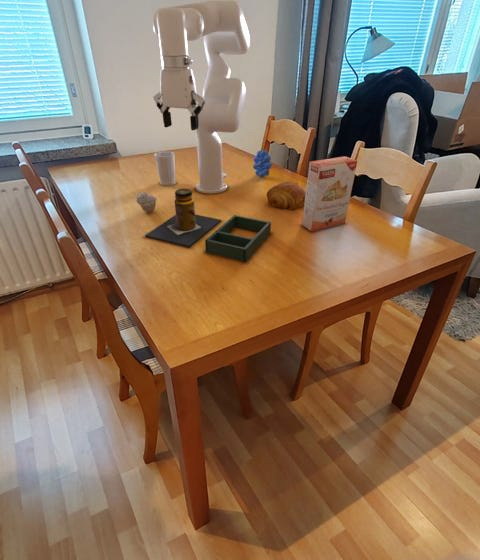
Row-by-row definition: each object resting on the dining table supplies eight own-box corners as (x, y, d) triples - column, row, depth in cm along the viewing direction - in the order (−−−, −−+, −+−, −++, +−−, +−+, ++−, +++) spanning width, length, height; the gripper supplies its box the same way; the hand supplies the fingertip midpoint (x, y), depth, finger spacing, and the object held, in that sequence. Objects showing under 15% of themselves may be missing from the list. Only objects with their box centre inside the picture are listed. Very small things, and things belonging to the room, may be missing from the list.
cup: (154, 184, 148) (150, 155, 141) (164, 178, 154) (161, 150, 148) (171, 187, 146) (167, 157, 139) (180, 181, 152) (178, 152, 145)
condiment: (201, 228, 113) (198, 191, 107) (178, 235, 109) (173, 198, 102) (189, 220, 118) (186, 185, 111) (166, 227, 114) (162, 191, 107)
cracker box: (312, 233, 112) (320, 166, 100) (301, 225, 116) (308, 161, 104) (346, 224, 117) (358, 159, 105) (334, 217, 122) (344, 154, 110)
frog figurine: (136, 210, 127) (133, 191, 123) (156, 207, 129) (153, 188, 125) (139, 216, 122) (136, 197, 118) (160, 213, 124) (157, 194, 120)
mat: (180, 213, 125) (180, 211, 124) (221, 221, 119) (220, 219, 119) (145, 237, 110) (145, 235, 109) (189, 247, 104) (189, 246, 104)
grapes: (277, 179, 154) (279, 151, 147) (265, 182, 151) (266, 153, 144) (261, 172, 162) (262, 145, 155) (249, 175, 158) (250, 147, 152)
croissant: (260, 208, 133) (258, 188, 128) (285, 191, 141) (284, 172, 136) (291, 218, 125) (290, 197, 120) (316, 200, 133) (316, 180, 128)
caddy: (234, 226, 116) (234, 214, 114) (270, 233, 111) (270, 222, 109) (205, 252, 102) (204, 240, 99) (245, 262, 97) (245, 249, 95)
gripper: (208, 63, 99) (211, 128, 109) (157, 61, 105) (164, 123, 115) (194, 65, 94) (199, 133, 104) (141, 63, 100) (151, 127, 110)
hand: (181, 127), depth 109 cm, fingers open, 9 cm apart
